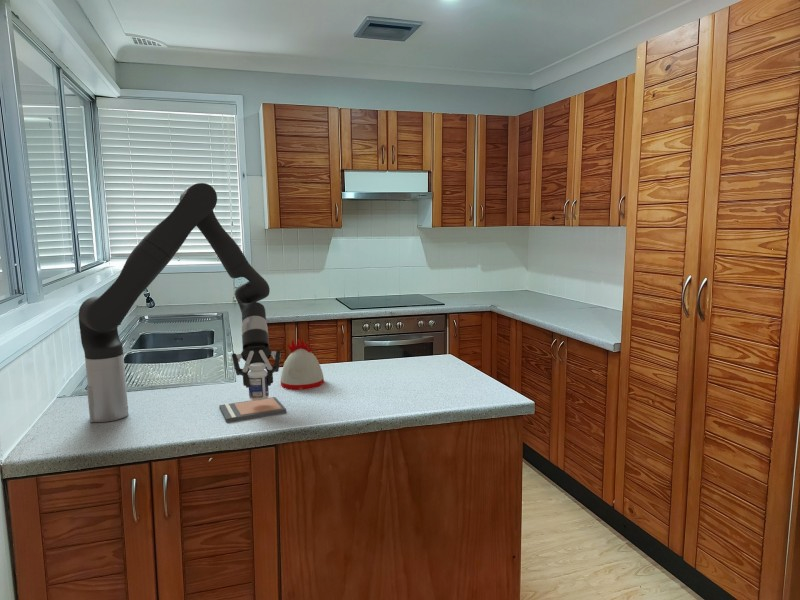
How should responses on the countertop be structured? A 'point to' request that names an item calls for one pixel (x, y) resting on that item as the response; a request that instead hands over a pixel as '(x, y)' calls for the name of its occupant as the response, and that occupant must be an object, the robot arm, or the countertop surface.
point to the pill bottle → (258, 382)
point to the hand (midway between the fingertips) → (258, 385)
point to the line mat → (251, 409)
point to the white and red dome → (301, 369)
